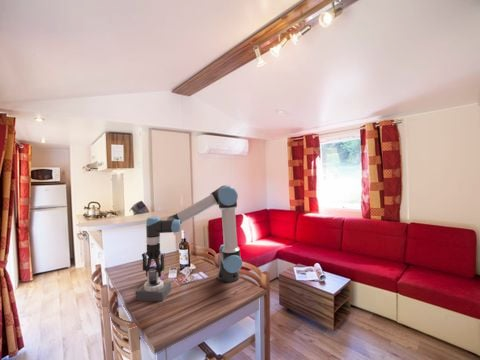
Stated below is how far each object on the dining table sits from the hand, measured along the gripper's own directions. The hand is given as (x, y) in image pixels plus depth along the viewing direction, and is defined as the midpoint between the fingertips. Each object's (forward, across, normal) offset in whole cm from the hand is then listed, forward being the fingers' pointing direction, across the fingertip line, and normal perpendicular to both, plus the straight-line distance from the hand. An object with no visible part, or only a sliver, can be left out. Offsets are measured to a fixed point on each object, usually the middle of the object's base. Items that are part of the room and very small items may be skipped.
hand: (153, 281), depth 135 cm
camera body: (+8, 0, 0) cm, 8 cm away
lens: (0, 0, 0) cm, 0 cm away
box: (+8, +7, -18) cm, 21 cm away
